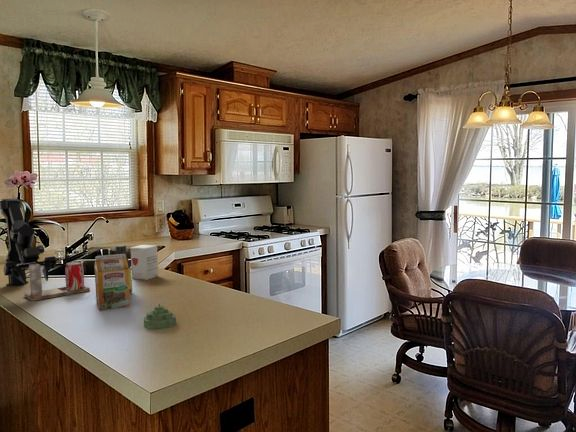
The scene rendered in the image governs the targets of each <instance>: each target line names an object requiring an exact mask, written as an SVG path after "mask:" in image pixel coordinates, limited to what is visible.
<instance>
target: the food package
mask: <svg viewBox="0 0 576 432" xmlns="http://www.w3.org/2000/svg"><path fill="white" fill-rule="evenodd" d="M126 255H127V254H126ZM126 255H125V254H117V253H116V254H107V255H97V256H95V260H94V282H95V299H96V302H95V303H96V306H97V308H98V310H99V312H102V311H107V310H108V311H109V310H116V309H123V308H129V307H131V293H129V271H128V264H127V260H126Z"/></svg>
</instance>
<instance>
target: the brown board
mask: <svg viewBox="0 0 576 432" xmlns="http://www.w3.org/2000/svg"><path fill="white" fill-rule="evenodd" d="M41 267H42V266H40V265H39V264H30V265H29V269H28V271H29V272H28V274H29V287H30V288H29V289H30V292H26V293H24V295H23V296H24V297H25V298H27V299H29V300H30V301H32V302H34V301H35V302H36V301H41V300H46V299H52V298H57V297H61V296H68V295H73V294H79V293H83V292H89V291H91V290H90V287H88V286H86V285H84V288H83V289H78V290H72V291H67V289H66V286H60V287H55V288H50V289H48V288H47V289H43V287H42V285H43V284H42V268H41Z"/></svg>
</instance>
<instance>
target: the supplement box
mask: <svg viewBox="0 0 576 432" xmlns="http://www.w3.org/2000/svg"><path fill="white" fill-rule="evenodd" d="M130 266H131V278H132V279H135V280H143V281H144V280H146V281H147V280H150V279H154V278H156V277H158V276H159V265H158V245H153V244H151V245H150V244H139V245H135V246H131V247H130Z"/></svg>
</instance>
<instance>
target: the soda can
mask: <svg viewBox="0 0 576 432" xmlns="http://www.w3.org/2000/svg"><path fill="white" fill-rule="evenodd" d="M64 273H65V274H64V275H65V277H64V278H65V287H66V289H67V290H66V291H72V290H78V289H83V288H84V286H85V275H84V274H85V273H84V265H83V264H82V262H81V261H71V262H67V263H66V265H65V267H64Z"/></svg>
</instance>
